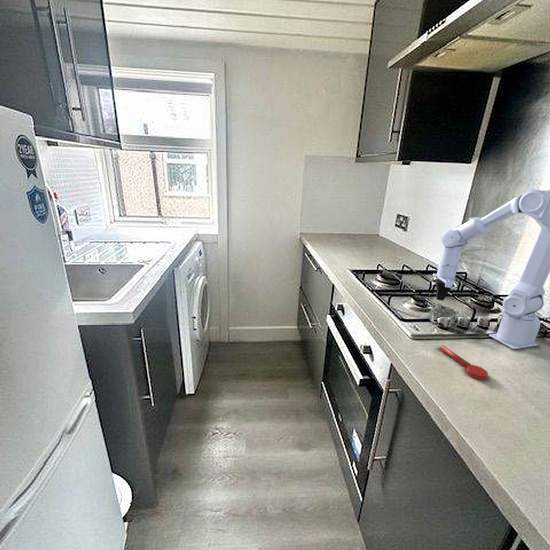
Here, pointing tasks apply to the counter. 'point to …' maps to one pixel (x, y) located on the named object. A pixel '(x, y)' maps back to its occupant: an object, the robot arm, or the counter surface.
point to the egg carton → (443, 314)
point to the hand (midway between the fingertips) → (439, 299)
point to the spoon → (467, 365)
